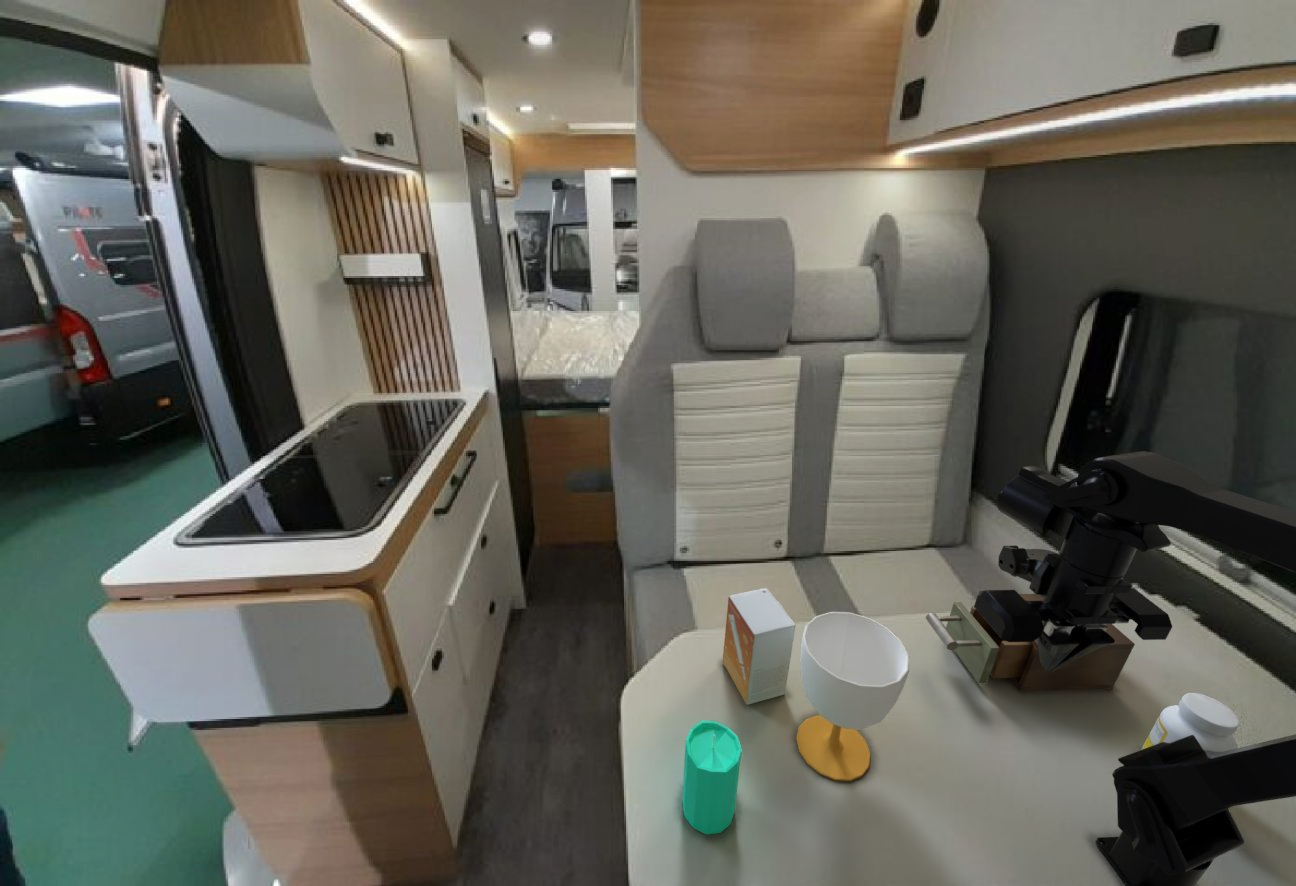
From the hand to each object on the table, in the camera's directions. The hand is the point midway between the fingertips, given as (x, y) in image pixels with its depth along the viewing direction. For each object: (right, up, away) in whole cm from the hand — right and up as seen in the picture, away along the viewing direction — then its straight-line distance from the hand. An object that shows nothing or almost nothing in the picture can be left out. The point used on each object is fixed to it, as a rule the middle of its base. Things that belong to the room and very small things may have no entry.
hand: (1046, 668), depth 64 cm
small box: (-32, -8, +14) cm, 36 cm away
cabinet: (+12, -6, +18) cm, 23 cm away
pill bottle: (+16, -14, +1) cm, 21 cm away
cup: (-24, -12, +5) cm, 27 cm away
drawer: (+3, -6, +17) cm, 18 cm away
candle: (-41, -15, -2) cm, 44 cm away
